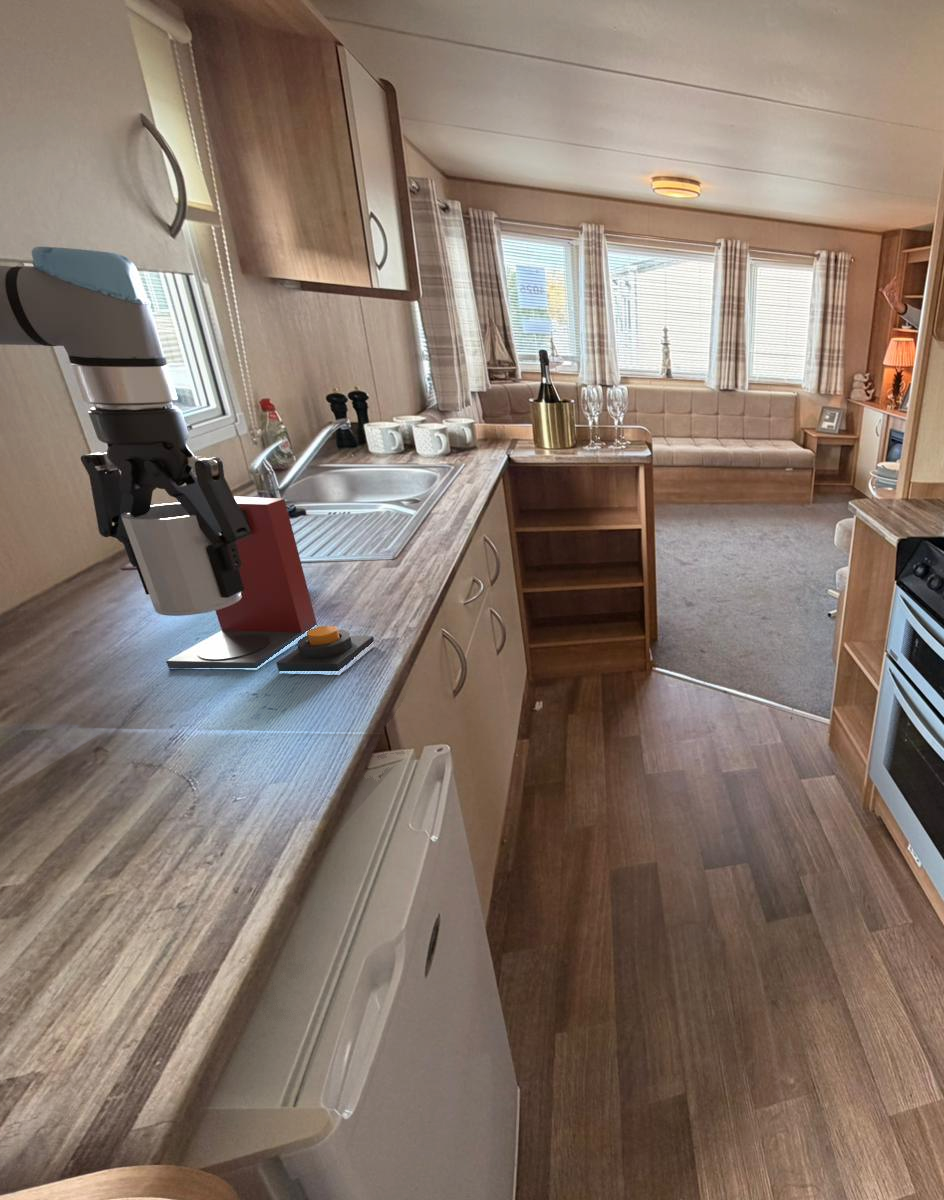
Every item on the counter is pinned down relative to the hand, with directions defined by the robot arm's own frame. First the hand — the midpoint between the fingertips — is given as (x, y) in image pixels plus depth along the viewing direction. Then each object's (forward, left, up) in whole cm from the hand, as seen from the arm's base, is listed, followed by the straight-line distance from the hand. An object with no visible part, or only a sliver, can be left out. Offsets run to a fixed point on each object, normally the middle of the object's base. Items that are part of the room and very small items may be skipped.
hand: (196, 591), depth 80 cm
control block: (+1, +18, -19) cm, 26 cm away
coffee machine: (-14, +22, -19) cm, 32 cm away
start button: (+1, +18, -16) cm, 24 cm away
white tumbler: (0, 0, -1) cm, 1 cm away
